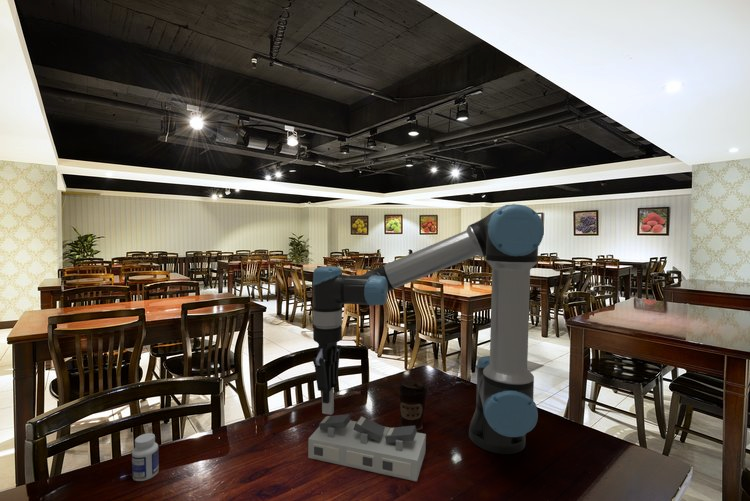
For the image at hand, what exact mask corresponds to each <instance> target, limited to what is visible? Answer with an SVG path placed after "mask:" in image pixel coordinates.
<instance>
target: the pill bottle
mask: <svg viewBox="0 0 750 501" xmlns="http://www.w3.org/2000/svg"><path fill="white" fill-rule="evenodd" d="M159 456H160V455H159V444H158V443H157V442H156V436H155V434H154V433H151V432H150V433H148V432H147V433H143V434H140V435H139V436H137V437H136V438H135V439H134V448H133V450H132V451H131V465H132V466H131V467H132V468H131V469H132V470H131V473H132V479H133V481H136V482H145V481H148V480H150V479H152V478H154V477H155V476H156V475H157V474H158V473H159V471H160V470H159V469H160V466H159V465H160V463H159V461H160V460H159V459H160V458H159Z"/></svg>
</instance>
